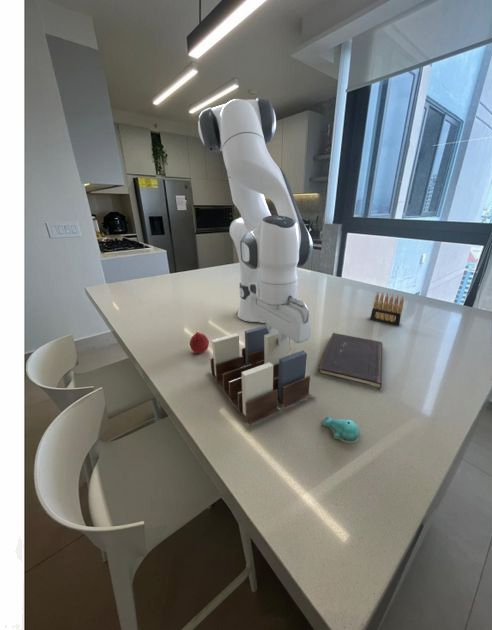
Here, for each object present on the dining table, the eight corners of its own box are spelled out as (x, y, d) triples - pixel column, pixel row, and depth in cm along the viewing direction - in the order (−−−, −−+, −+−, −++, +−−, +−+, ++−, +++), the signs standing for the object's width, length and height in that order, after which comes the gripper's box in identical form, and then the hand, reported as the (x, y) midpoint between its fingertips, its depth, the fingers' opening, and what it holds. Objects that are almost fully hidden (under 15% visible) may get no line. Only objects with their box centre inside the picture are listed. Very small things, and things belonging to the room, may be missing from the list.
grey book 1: (265, 357, 79) (266, 325, 74) (268, 360, 77) (269, 327, 73) (245, 364, 75) (244, 330, 71) (248, 367, 74) (247, 333, 70)
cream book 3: (285, 363, 72) (286, 327, 67) (288, 365, 71) (290, 330, 66) (264, 372, 68) (264, 335, 64) (267, 374, 67) (267, 337, 63)
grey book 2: (300, 387, 66) (303, 350, 62) (303, 390, 65) (307, 353, 60) (277, 397, 63) (278, 358, 58) (281, 401, 62) (282, 361, 57)
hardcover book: (318, 375, 72) (318, 368, 71) (332, 338, 92) (333, 332, 91) (380, 390, 66) (382, 383, 66) (381, 348, 86) (382, 341, 85)
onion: (213, 350, 84) (211, 328, 81) (203, 360, 79) (201, 336, 76) (197, 347, 86) (194, 325, 83) (187, 356, 81) (184, 333, 78)
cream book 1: (237, 367, 74) (236, 333, 70) (240, 370, 73) (239, 335, 68) (214, 375, 71) (211, 339, 66) (217, 378, 69) (214, 342, 65)
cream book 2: (268, 401, 61) (269, 362, 57) (272, 405, 60) (273, 365, 56) (242, 412, 58) (241, 372, 54) (246, 417, 57) (244, 375, 53)
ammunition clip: (369, 319, 106) (375, 291, 102) (370, 318, 108) (376, 290, 103) (398, 326, 101) (405, 297, 96) (399, 324, 102) (406, 295, 97)
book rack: (263, 356, 81) (263, 339, 78) (311, 398, 64) (313, 378, 61) (210, 374, 72) (208, 356, 70) (249, 428, 55) (248, 406, 53)
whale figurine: (350, 452, 50) (353, 438, 48) (317, 432, 54) (318, 418, 53) (362, 434, 54) (365, 420, 52) (330, 416, 58) (332, 403, 57)
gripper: (320, 301, 54) (315, 357, 60) (265, 278, 70) (265, 324, 75) (296, 308, 51) (294, 366, 57) (244, 282, 67) (246, 330, 72)
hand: (277, 342), depth 66 cm, fingers closed on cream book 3, 1 cm apart
